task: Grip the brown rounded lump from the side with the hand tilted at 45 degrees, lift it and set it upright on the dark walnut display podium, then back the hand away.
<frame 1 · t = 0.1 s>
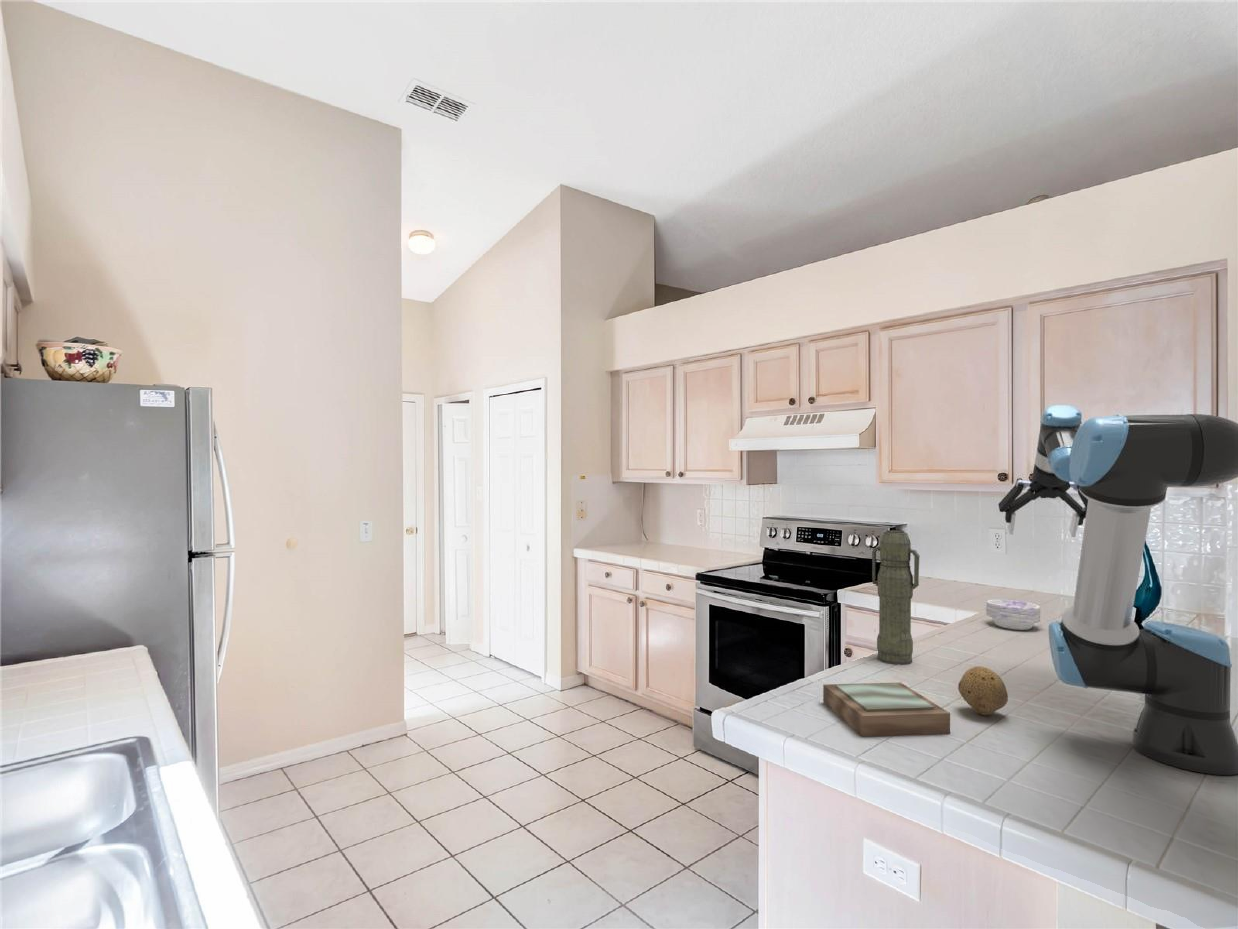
hand: (1040, 532, 165), 36 cm above the countertop, fingers open, 13 cm apart
brown rounded lump: (981, 714, 135), on the countertop
display podium: (882, 717, 133), on the countertop
paper bowls: (1012, 627, 211), on the countertop
thermos: (895, 660, 173), on the countertop
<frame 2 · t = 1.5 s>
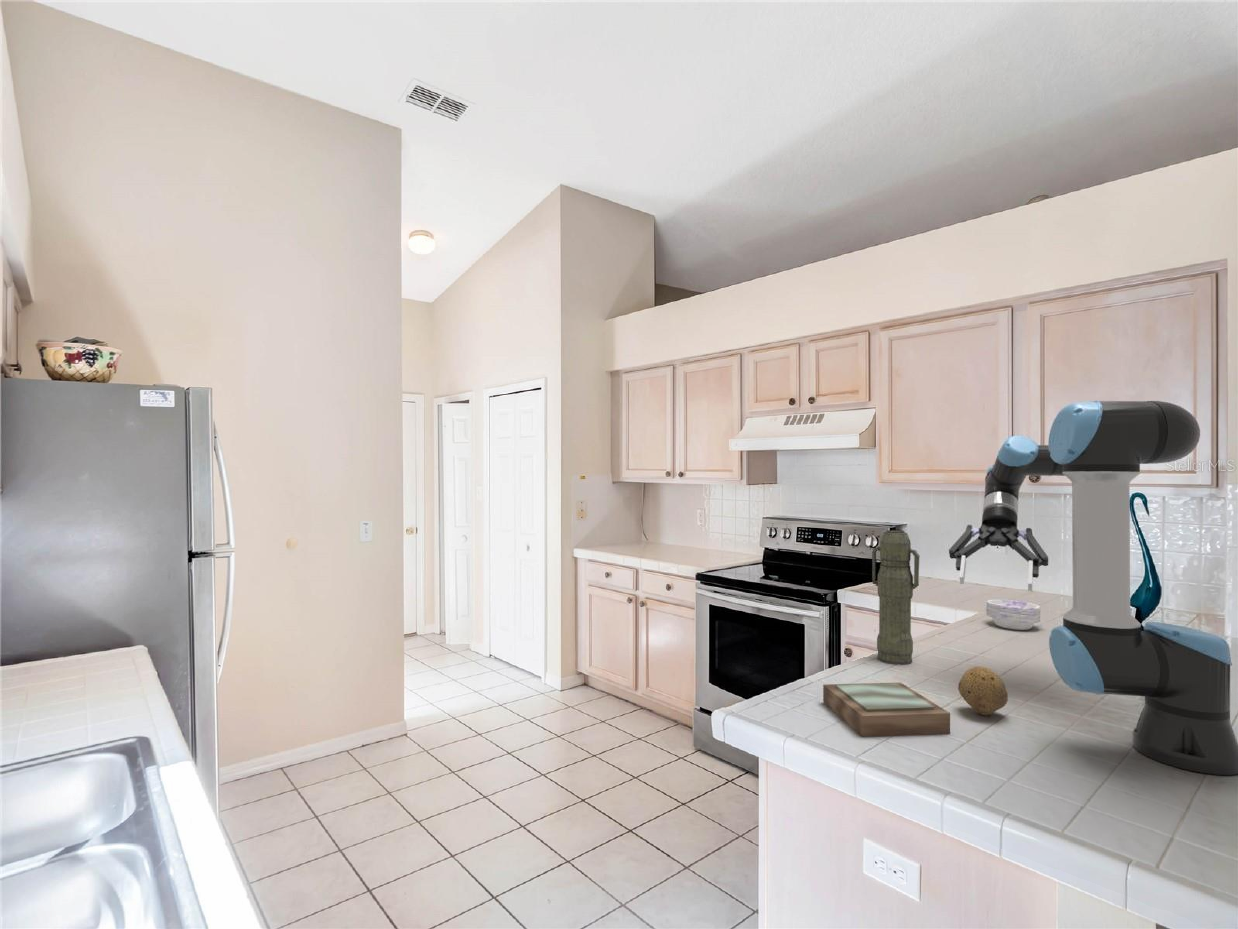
hand: (995, 584, 147), 26 cm above the countertop, fingers open, 13 cm apart
nothing on the countertop moved.
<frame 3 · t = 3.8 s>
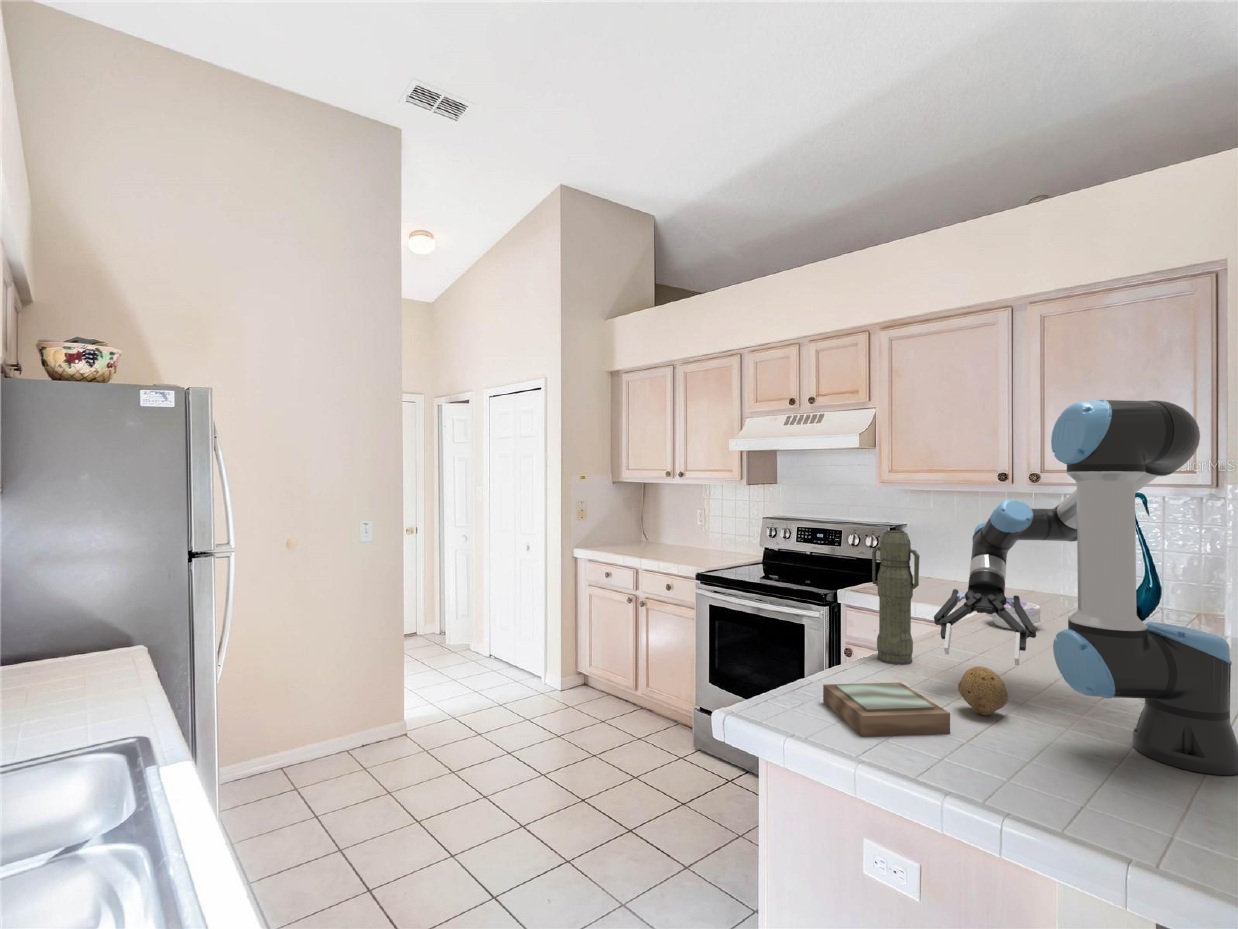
hand: (980, 656, 141), 11 cm above the countertop, fingers open, 13 cm apart
nothing on the countertop moved.
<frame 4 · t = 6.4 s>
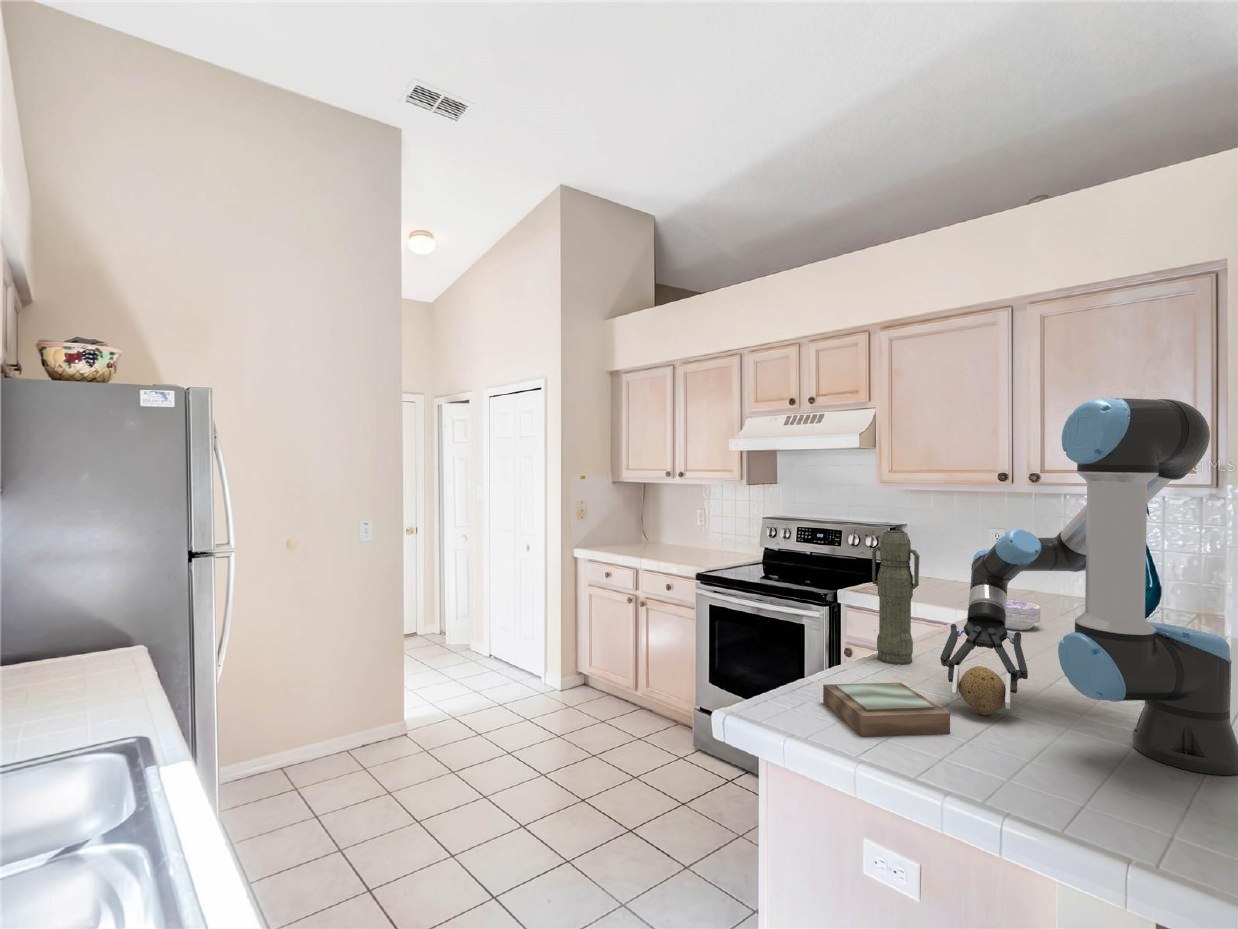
hand: (980, 700, 133), 4 cm above the countertop, fingers closed on brown rounded lump, 9 cm apart
brown rounded lump: (981, 714, 135), on the countertop, touching gripper
everything else where it was.
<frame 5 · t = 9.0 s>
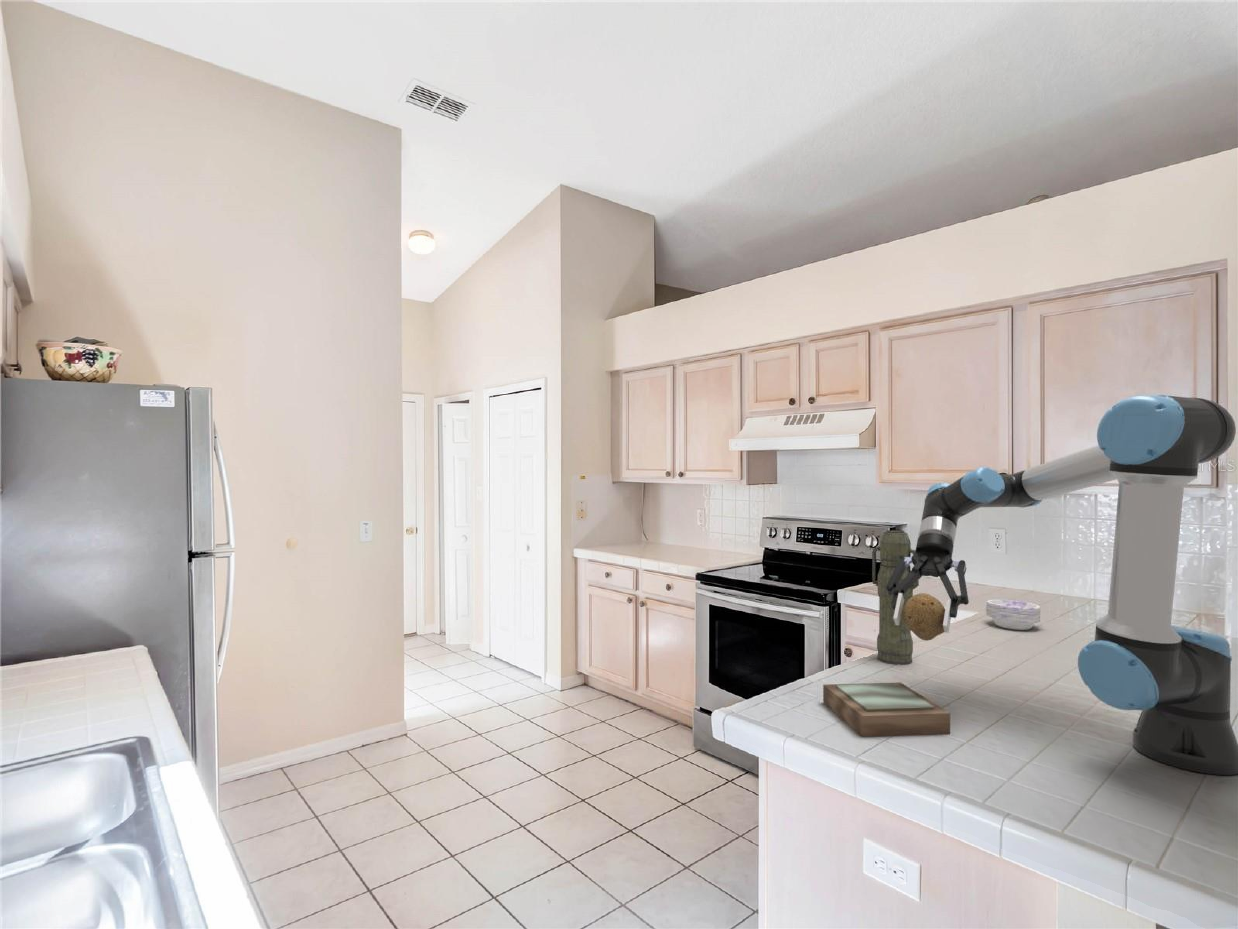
hand: (920, 625, 135), 19 cm above the countertop, fingers closed on brown rounded lump, 9 cm apart
brown rounded lump: (923, 640, 138), point 15 cm above the countertop, touching gripper
everything else where it was.
when the fingers open (10 cm above the countertop, at t = 11.8 s): brown rounded lump drops 1 cm, resting on display podium.
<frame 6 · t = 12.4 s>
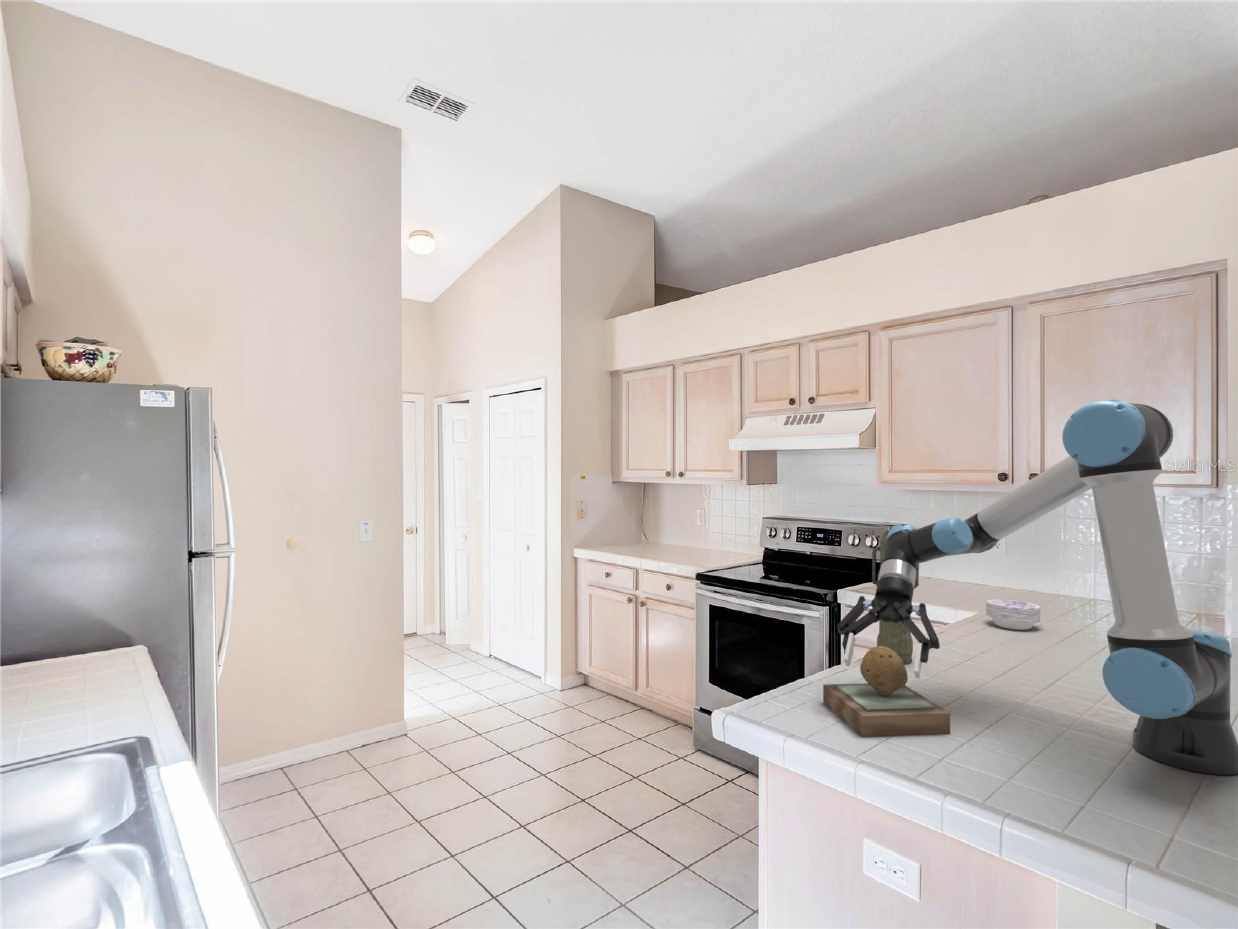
hand: (880, 668, 131), 11 cm above the countertop, fingers open, 13 cm apart
brown rounded lump: (882, 695, 133), point 4 cm above the countertop, touching display podium
everything else where it was.
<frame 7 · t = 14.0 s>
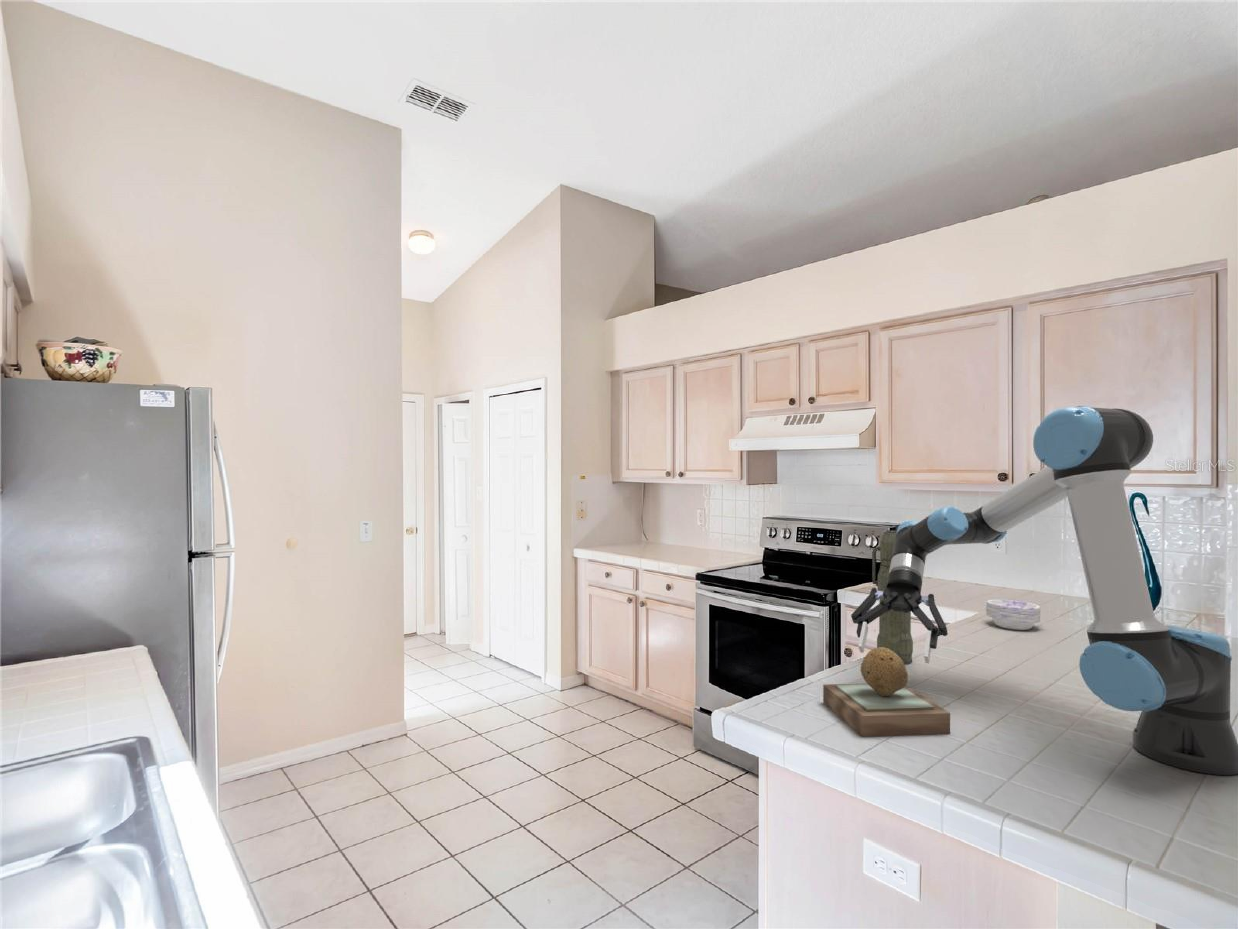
hand: (892, 654, 141), 11 cm above the countertop, fingers open, 13 cm apart
nothing on the countertop moved.
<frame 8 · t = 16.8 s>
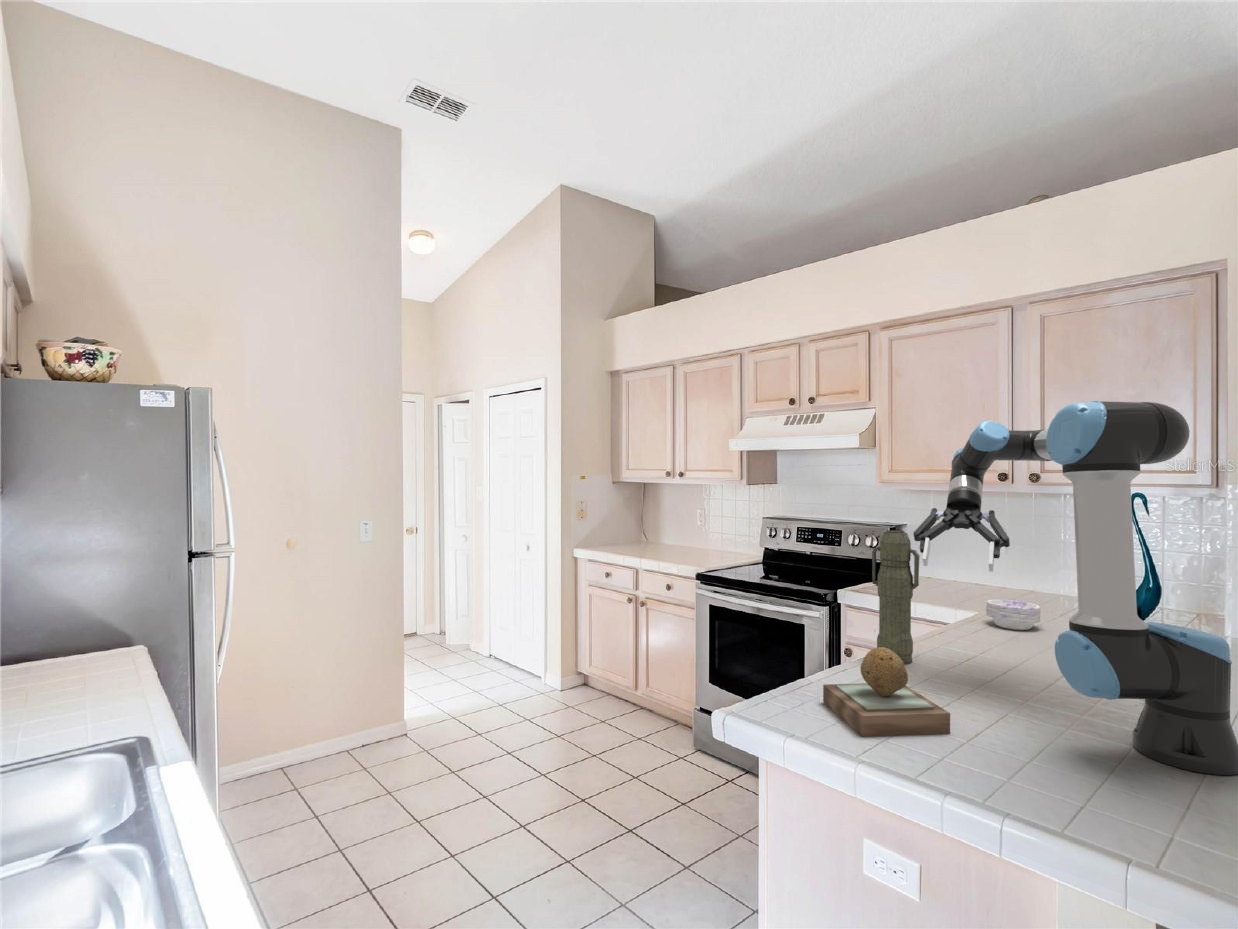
hand: (956, 565, 148), 30 cm above the countertop, fingers open, 13 cm apart
nothing on the countertop moved.
at the end: brown rounded lump inside the target area on the display podium (0.3 cm from its centre), point 4.3 cm above the display podium's base; brown rounded lump tilted 0°; the gripper is holding nothing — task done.
